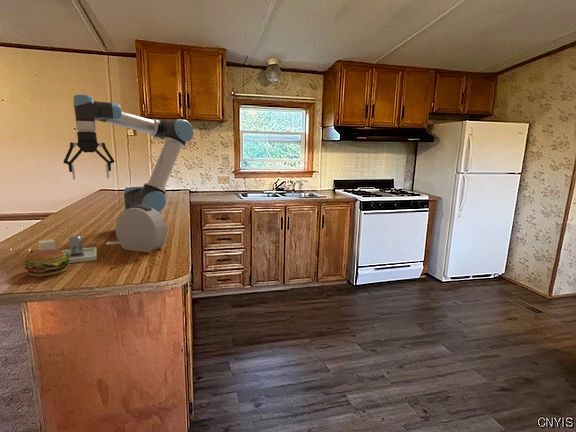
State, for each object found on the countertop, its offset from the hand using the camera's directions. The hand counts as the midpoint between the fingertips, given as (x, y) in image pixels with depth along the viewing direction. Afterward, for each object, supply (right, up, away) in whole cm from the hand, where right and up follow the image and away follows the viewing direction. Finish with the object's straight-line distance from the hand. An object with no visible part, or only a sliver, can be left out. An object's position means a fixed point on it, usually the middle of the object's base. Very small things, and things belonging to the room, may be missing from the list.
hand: (91, 178), depth 160 cm
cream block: (-10, -33, -14) cm, 37 cm away
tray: (+5, -34, -19) cm, 39 cm away
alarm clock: (+25, -32, -4) cm, 41 cm away
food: (+5, -37, -36) cm, 52 cm away
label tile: (+9, -30, +3) cm, 31 cm away
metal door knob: (+5, -33, -20) cm, 39 cm away
